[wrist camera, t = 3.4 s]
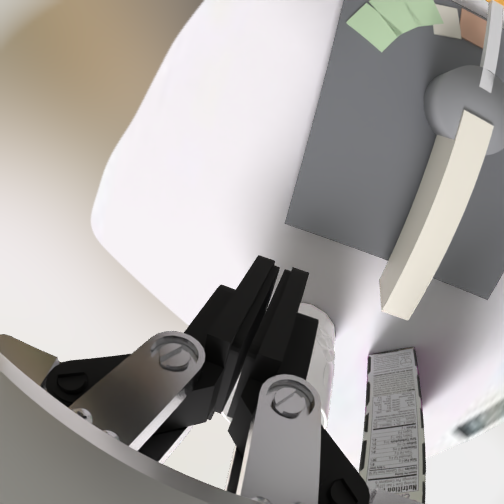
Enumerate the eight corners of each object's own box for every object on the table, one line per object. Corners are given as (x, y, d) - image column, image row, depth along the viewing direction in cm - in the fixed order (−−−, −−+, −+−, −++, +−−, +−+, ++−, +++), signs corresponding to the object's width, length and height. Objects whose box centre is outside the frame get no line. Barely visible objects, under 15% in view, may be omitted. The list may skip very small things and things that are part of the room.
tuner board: (352, -30, 14) (352, -37, 13) (559, 74, 11) (568, 73, 10) (288, 218, 24) (284, 224, 23) (483, 292, 21) (488, 301, 20)
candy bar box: (420, 412, 28) (416, 543, 14) (378, 418, 30) (361, 548, 16) (417, 342, 25) (426, 513, 11) (366, 352, 27) (346, 520, 13)
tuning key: (445, -15, 11) (462, -38, 8) (507, 18, 10) (533, 4, 7) (361, 272, 22) (360, 304, 19) (418, 293, 21) (426, 326, 18)
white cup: (250, 295, 28) (204, 374, 19) (340, 293, 25) (325, 384, 17) (265, 359, 31) (231, 437, 22) (342, 362, 28) (328, 449, 20)
